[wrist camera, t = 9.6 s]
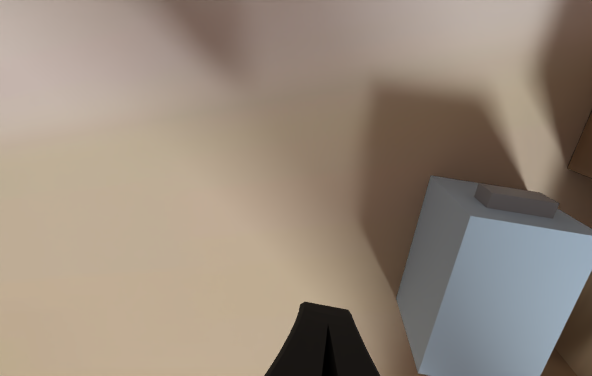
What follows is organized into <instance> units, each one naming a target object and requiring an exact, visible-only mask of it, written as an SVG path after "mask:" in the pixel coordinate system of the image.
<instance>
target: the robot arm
mask: <svg viewBox="0 0 592 376" xmlns="http://www.w3.org/2000/svg"><path fill="white" fill-rule="evenodd" d="M265 376H380V374H379V372H378V370H377V369H376V367H375V365H374V363H373V361H372V359H371V357H370V355H369V353H368V351H367V349H366V347H365V345H364V343H363V340H362V338H361V336H360V334H359V332H358V329H357V327H356V325H355V322H354V320H353V318H352V315H351V313H350V312H349V310H346V309H340V308H335V307H330V306H325V305H319V304H314V303H309V302H304V303H302V304H300V308H299V312H298V316H297V318H296V321H295V323H294V325H293V328H292V330H291V332H290V334H289V336H288V338H287V339H286V341H285V343H284V345H283V347H282V349H281V350H280V352H279V354H278V356H277V357H276V359H275V360H274V362H273V363H272V365H271V366H270V368H269V369H268V371H267V373H266V374H265Z"/></svg>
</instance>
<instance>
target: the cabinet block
mask: <svg viewBox="0 0 592 376" xmlns="http://www.w3.org/2000/svg"><path fill="white" fill-rule="evenodd" d="M558 206H559V203H558V202H556V201H554V200H552V199H550V198H549V197H547V196H545V195H543V194H542V193H539V192H533V191H527V190H520V189H514V188H508V187H502V186H495V185H489V184H483V183H475V182H469V181H463V180H457V179H450V178H444V177H438V176H430V180H429V184H428V187H427V191H426V194H425V198H424V201H423V205H422V209H421V212H420V216H419V219H418V223H417V226H416V230H415V234H414V237H413V241H412V244H411V248H410V251H409V255H408V258H407V262H406V266H405V269H404V273H403V276H402V280H401V283H400V287H399V291H398V294H397V298H396V300H397V303H398V306H399V310H400V313H401V317H402V320H403V323H404V327H405V330H406V334H407V337H408V341H409V344H410V347H411V351H412V354H413V358H414V361H415V364H416V368H417V371H418V373H419V374H424V375H429V376H540V375H541V373H542V371H543V369H544V367H545V365H546V363H547V361H548V359H549V357H550V355H551V353H552V351H553V349H554V347H555V345H556V343H557V341H558V339H559V336H560V334H561V332H562V330H563V328H564V326H565V324H566V322H567V320H568V318H569V316H570V314H571V312H572V310H573V308H574V306H575V304H576V302H577V299H578V297H579V295H580V293H581V291H582V289H583V287H584V285H585V283H586V281H587V279H588V277H589V275H590V273H591V271H592V229H591V228H589V227H588V226H586V225H584V224H583V223H581V222H579V221H577V220H576V219H574V218H572V217H571V216H569V215H567V214H566V213H564V212H562V211H561V210H559V209H557V208H558Z"/></svg>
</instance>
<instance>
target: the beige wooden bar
mask: <svg viewBox="0 0 592 376" xmlns="http://www.w3.org/2000/svg"><path fill="white" fill-rule="evenodd" d="M567 169H570V170H572V171H575V172H577V173H580V174H582V175H585V176H587V177H590V178H592V112H591V114H590V117H589V119H588V121H587V124H586V126H585V128H584V131H583V133H582V135H581V138H580V140H579V142H578V145H577V147H576V149H575V152H574V154H573V156H572V159H571V161H570V163H569V166H568V168H567ZM540 376H592V271H591V273H590V275H589V277H588V279H587V281H586V283H585V285H584V287H583V289H582V291H581V293H580V295H579V297H578V299H577V302H576V304H575V306H574V308H573V310H572V312H571V314H570V316H569V318H568V320H567V322H566V324H565V326H564V328H563V330H562V332H561V334H560V336H559V339H558V341H557V343H556V345H555V347H554V349H553V351H552V353H551V355H550V357H549V359H548V361H547V363H546V365H545V367H544V369H543V371H542V373H541V375H540Z"/></svg>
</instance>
